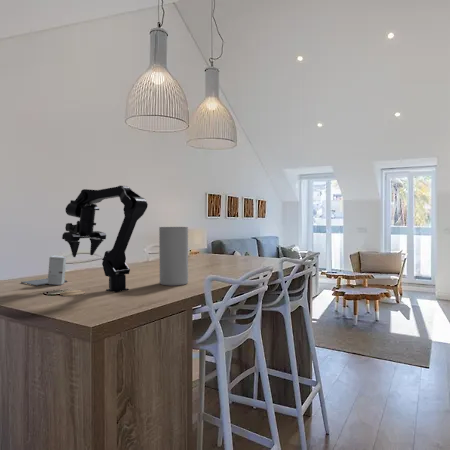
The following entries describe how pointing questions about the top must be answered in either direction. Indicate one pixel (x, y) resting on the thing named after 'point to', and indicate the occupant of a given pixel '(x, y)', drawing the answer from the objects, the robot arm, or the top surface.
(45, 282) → the felt mat
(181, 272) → the cylinder vase
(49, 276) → the skincare box
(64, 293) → the cork coaster
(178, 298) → the top surface
